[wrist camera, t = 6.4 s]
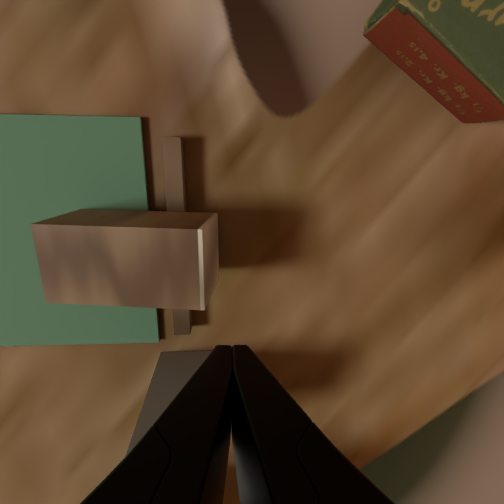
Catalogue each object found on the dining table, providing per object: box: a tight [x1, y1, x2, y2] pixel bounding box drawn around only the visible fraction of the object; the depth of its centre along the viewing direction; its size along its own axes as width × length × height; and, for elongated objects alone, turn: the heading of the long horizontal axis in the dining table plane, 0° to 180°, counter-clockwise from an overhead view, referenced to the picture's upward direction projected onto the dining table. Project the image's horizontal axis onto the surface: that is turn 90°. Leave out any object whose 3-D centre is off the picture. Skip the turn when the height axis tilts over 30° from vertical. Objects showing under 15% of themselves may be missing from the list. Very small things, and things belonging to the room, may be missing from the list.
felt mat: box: [0, 114, 160, 346], centre depth 19 cm, size 14×12×1 cm
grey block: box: [126, 351, 212, 456], centre depth 19 cm, size 4×4×8 cm
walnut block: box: [30, 209, 219, 310], centre depth 17 cm, size 4×4×8 cm
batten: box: [161, 137, 192, 335], centre depth 19 cm, size 12×1×1 cm, turn 179°
